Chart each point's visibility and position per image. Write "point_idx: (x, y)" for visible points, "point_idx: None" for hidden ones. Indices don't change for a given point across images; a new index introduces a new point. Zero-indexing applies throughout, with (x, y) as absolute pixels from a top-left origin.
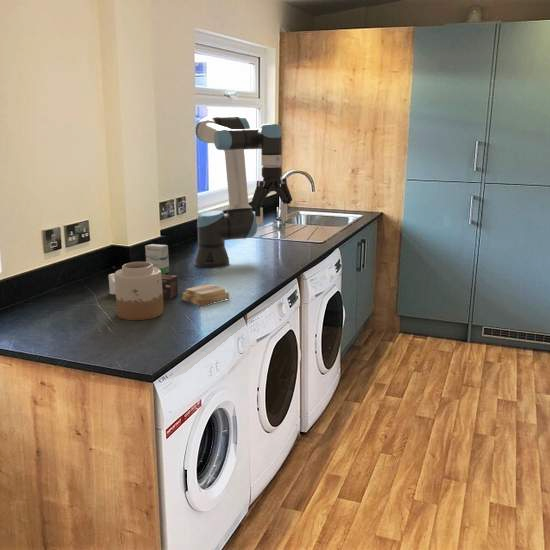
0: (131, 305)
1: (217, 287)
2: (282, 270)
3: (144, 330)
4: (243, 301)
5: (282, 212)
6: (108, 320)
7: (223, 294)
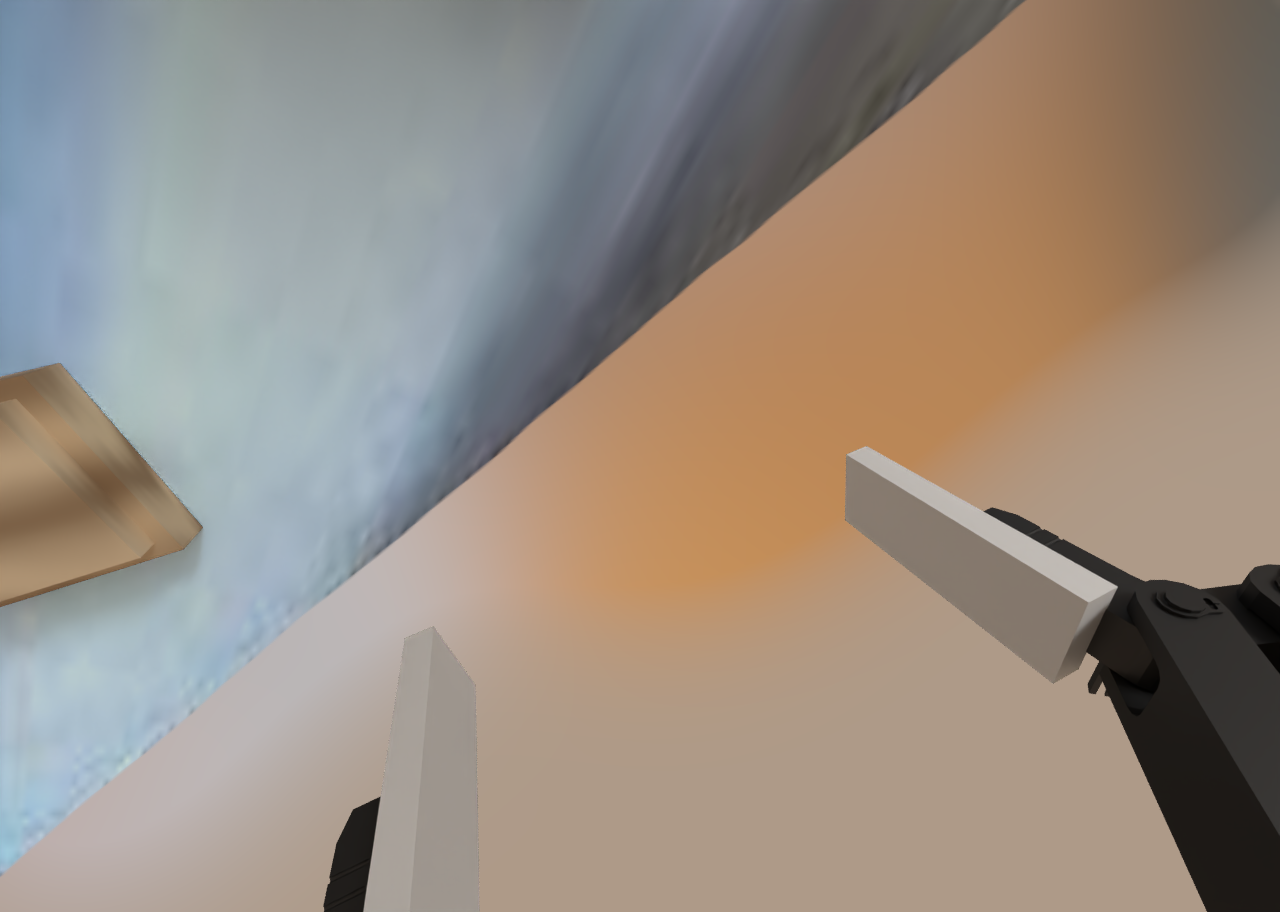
0: None
1: (81, 520)
2: (736, 129)
3: None
4: (281, 571)
5: (927, 526)
6: None
7: (139, 562)
